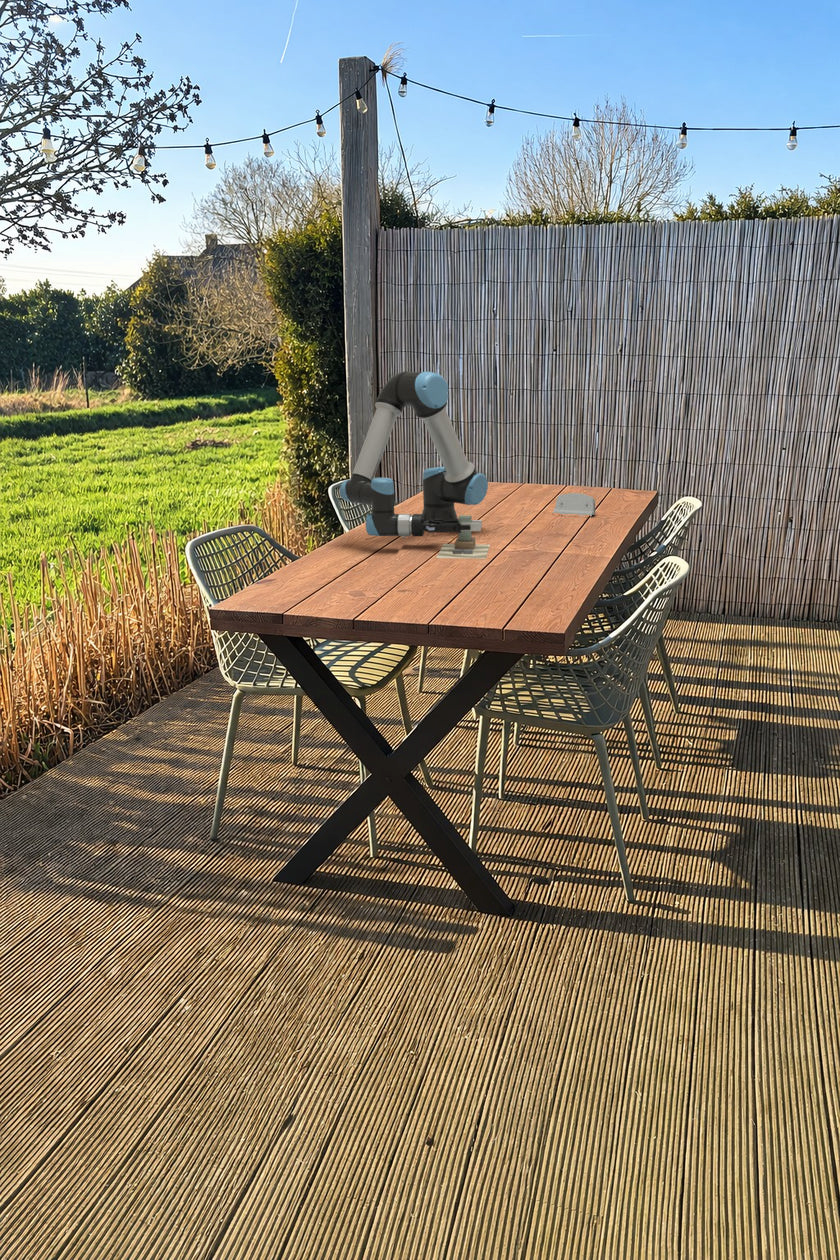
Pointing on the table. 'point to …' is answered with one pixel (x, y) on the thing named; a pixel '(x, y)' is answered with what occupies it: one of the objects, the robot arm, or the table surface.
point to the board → (447, 552)
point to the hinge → (575, 504)
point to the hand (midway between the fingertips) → (481, 525)
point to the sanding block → (465, 535)
